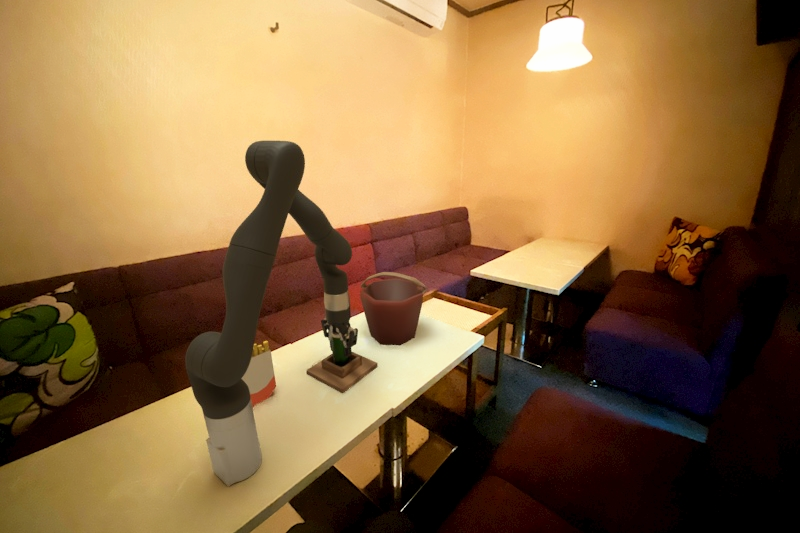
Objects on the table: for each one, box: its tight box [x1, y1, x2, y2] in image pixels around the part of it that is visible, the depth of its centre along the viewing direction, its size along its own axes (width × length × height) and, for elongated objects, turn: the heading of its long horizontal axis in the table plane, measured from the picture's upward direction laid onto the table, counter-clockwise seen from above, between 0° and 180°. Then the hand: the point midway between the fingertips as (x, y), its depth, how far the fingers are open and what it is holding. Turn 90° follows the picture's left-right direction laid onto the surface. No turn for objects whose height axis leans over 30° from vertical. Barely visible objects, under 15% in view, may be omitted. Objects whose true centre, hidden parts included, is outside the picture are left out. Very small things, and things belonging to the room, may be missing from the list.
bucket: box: [359, 271, 428, 347], centre depth 130 cm, size 24×22×25 cm
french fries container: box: [241, 340, 277, 407], centre depth 98 cm, size 5×11×18 cm, turn 135°
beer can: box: [331, 331, 350, 368], centre depth 111 cm, size 5×5×12 cm
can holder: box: [305, 350, 378, 394], centre depth 113 cm, size 16×16×4 cm
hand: (341, 352), depth 111 cm, fingers closed on beer can, 5 cm apart
